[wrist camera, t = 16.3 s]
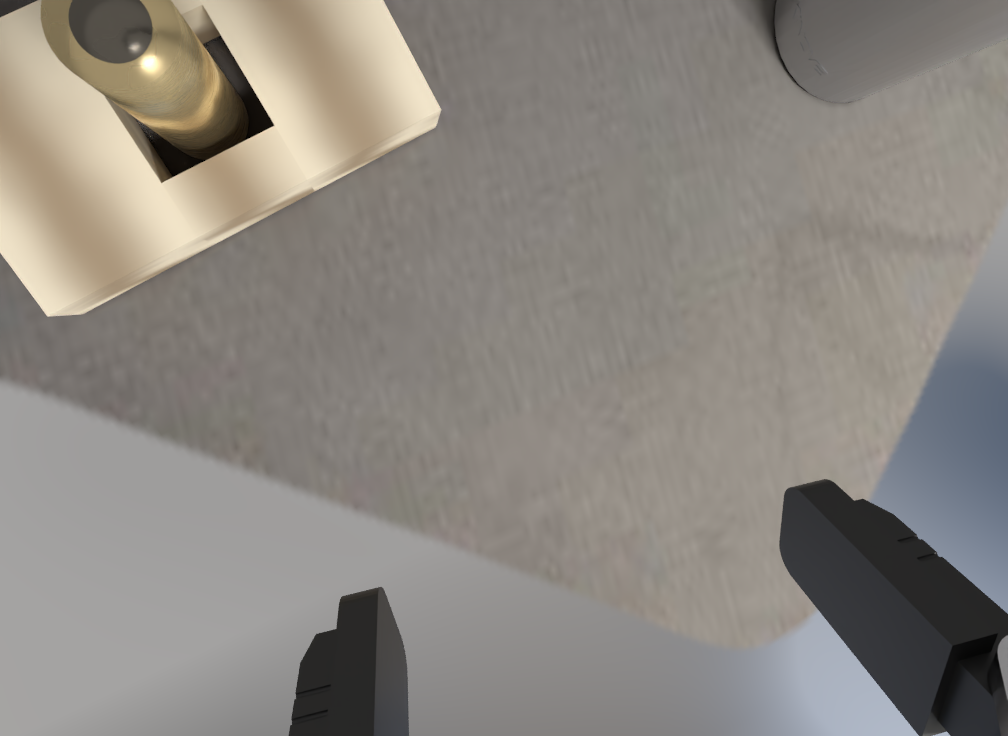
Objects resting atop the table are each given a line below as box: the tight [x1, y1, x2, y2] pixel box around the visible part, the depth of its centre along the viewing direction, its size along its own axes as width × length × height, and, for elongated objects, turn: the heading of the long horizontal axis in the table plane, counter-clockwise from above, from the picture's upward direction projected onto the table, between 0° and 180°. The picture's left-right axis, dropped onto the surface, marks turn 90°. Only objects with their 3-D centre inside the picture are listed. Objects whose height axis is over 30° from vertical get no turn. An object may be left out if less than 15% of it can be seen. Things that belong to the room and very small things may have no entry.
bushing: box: [41, 0, 249, 160], centre depth 23 cm, size 4×4×10 cm
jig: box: [0, 0, 441, 316], centre depth 27 cm, size 20×11×3 cm, turn 119°
